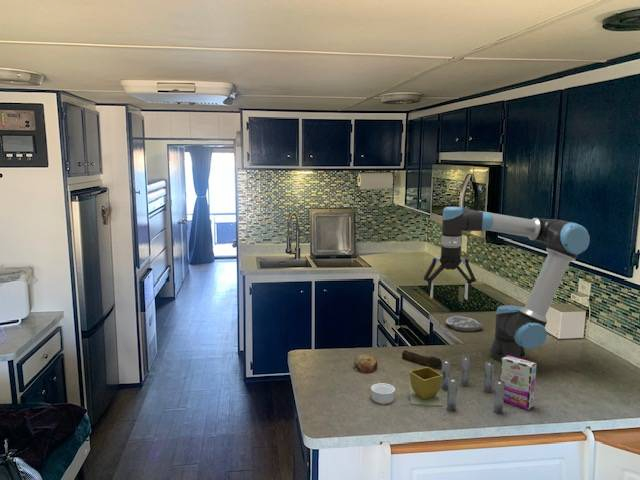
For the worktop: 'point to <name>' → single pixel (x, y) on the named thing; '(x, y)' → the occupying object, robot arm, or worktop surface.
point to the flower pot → (425, 382)
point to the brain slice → (463, 323)
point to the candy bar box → (518, 381)
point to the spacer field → (451, 384)
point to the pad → (424, 402)
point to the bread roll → (365, 363)
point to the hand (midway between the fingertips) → (448, 298)
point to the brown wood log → (423, 359)
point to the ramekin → (382, 393)
